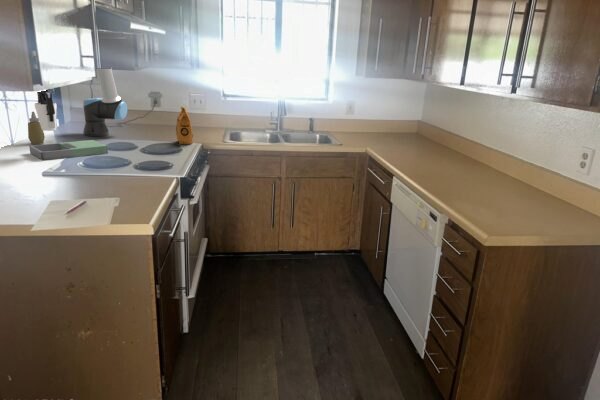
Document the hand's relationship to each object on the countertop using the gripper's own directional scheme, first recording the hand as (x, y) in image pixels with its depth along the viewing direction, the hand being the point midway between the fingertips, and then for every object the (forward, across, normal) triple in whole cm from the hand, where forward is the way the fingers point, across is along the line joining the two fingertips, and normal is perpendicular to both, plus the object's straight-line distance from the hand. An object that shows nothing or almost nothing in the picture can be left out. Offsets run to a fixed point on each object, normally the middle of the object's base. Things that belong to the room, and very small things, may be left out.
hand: (48, 126), depth 216 cm
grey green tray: (+15, 0, +8) cm, 17 cm away
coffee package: (+15, +5, +74) cm, 76 cm away
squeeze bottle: (+15, -33, +2) cm, 36 cm away
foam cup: (+2, 0, 0) cm, 2 cm away
